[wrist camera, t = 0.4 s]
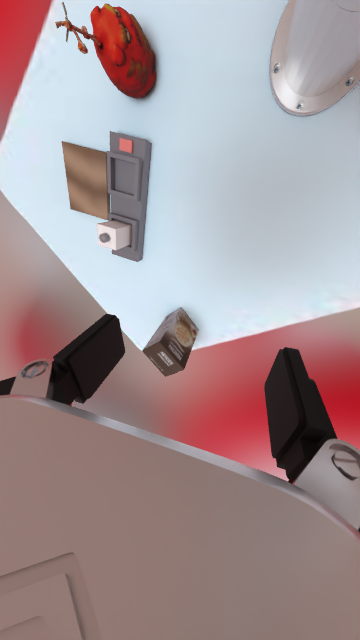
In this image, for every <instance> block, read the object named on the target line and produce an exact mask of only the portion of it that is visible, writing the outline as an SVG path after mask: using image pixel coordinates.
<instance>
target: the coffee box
mask: <svg viewBox="0 0 360 640" xmlns="http://www.w3.org/2000/svg"><path fill="white" fill-rule="evenodd" d="M198 331H199V330H198V329H197V327H196V326H195V325H194V323H193V322H192V321H191V319H190V318H189V317H188V315H187V314H186V313H185V312H184V310H183V309H182V308H179V309H177V310H176V311H174V312H172V313H171V314H169V315H167V316H166V318H165V319H164V321H163V322H162V323H161V325H160V326H159V328H158V329H157V331H156V332H155V333H154V335H153V336H152V338H151V339H150V341H149V342H148V344H147V345H146V346H145V348H144V349H143V352H144V354H145V355H146V356H147V357H148V358H149V359H150V360H151V361H152V362H153V363H154V365H155V366H156V367H157V368H158V369H159V370H160V371H161V372H162V374H163V375H164V376H169V375H172V374H175V373H177V372H179V371H182V370H184V368H185V366H186V363H187V360H188V358H189V355H190V352H191V349H192V347H193V344H194V341H195V339H196V336H197V333H198Z"/></svg>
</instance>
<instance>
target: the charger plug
mask: <svg viewBox="0 0 360 640" xmlns="http://www.w3.org/2000/svg"><path fill="white" fill-rule="evenodd" d="M97 230H98V245H100V246H104V247H107V248H110V249H113V250H118V249H121V248H123V247H126V246H128V245H131V244H132V224H129V223H125V222H122V221H119V220H115V221H109V222H104V223H98V224H97Z"/></svg>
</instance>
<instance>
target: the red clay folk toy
mask: <svg viewBox="0 0 360 640" xmlns="http://www.w3.org/2000/svg"><path fill="white" fill-rule="evenodd" d="M62 5H63V7H64V11H65V15H66V17H65V19H66V21H60V22H55V23H56V25H57V28H59V26H60V27H61V25H62V26H65V27H66V28H67V34H66V42H67V40H68V32H69V31H73V32H74V33H75V35H76V38H77V40H78V48H79V49H80V51H81V52H82V53H84V54H86V53H88V50H87V48H86V46H85V44H83V43H82V41H81V40H80V38H79V36H78V34H77V32H79V33H81V34H83V36H84V38H86V39H92V40H93V41H94V46H95V49H96V53H97V56H98V58H99V60H100V62H101V64H102V66H103V68H104V70H105V72H106V74H107V75H108V77H109V79H110V80H111V81H112V83H113V84H114V85H115V86H116V87H117V88H118V90H120V91H121V92H122V93H124V94H125V95H127V96H130V97H133V98H143V97H144V96H145V95H146V94H147V93H148V92H149V90H150V89H151V88H152V87H153V85H154V83H155V79H156V72H155V55H154V52H153V51H152V50H151V48H150V45H149V43H148V41H147V39H146V37H145V35H144V34H143V31H142V28H141V26H140V25H139V23H138V22H137V20H136V19H135V17H134V16H133V15H132V14H129V13H128V12H127V11H126V10H124V9H123V8H121V7H112V6H111V5H109V4H105V5H104V6H103V8H101V9H100V8H99V7H98V6H96V7H95V8H94V9H93V11H92V12H91V22H92V26H93V35H91V34H88V32H87V29H86V27H85V26H82V29H79V28H77V27H76V26H74V25H72V24H71V22H70V21H69V20H68V18H67V12H66V9H65V5H64V2H63V3H62ZM76 31H77V32H76Z"/></svg>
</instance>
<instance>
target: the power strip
mask: <svg viewBox="0 0 360 640" xmlns="http://www.w3.org/2000/svg"><path fill="white" fill-rule="evenodd" d="M151 144H152V143H150V142H148V141H147V140H144V139H140V138H135V137H131V136H127V135H123V134H119V133H115V132H111V131H110V152H109V151H107V177H108V193H110V194H111V213H108V215H109V221H115V220H119V221H122V222H125V223H129V224H132V244H131V245H128V246H126V247H123V248H121V249H118V250H113V249H112V254H114V255H118V256H121V257H124V258H127V259H130V260H133V261H136V262H138V261H140V260H142V254H143V242H144V229H145V217H146V205H147V193H148V181H149V169H150V156H151Z"/></svg>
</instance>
